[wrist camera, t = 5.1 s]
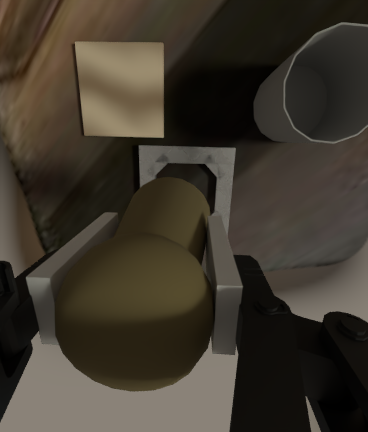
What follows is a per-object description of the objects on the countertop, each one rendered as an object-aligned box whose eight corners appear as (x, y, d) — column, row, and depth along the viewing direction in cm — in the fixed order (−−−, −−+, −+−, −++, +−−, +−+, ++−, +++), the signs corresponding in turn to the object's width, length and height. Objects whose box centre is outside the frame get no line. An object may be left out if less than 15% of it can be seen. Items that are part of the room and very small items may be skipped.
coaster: (77, 43, 27) (74, 41, 26) (163, 44, 26) (162, 42, 26) (86, 135, 30) (84, 135, 29) (163, 137, 29) (163, 137, 29)
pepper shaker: (209, 256, 17) (228, 431, 7) (131, 255, 18) (38, 420, 7) (212, 177, 16) (244, 256, 5) (124, 176, 16) (-14, 251, 5)
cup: (262, 151, 29) (294, 157, 20) (244, 83, 27) (271, 52, 17) (331, 127, 28) (400, 120, 18) (318, 53, 26) (390, 1, 16)
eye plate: (140, 145, 30) (138, 145, 29) (234, 147, 29) (235, 148, 28) (143, 231, 33) (141, 234, 32) (226, 235, 33) (227, 237, 32)
